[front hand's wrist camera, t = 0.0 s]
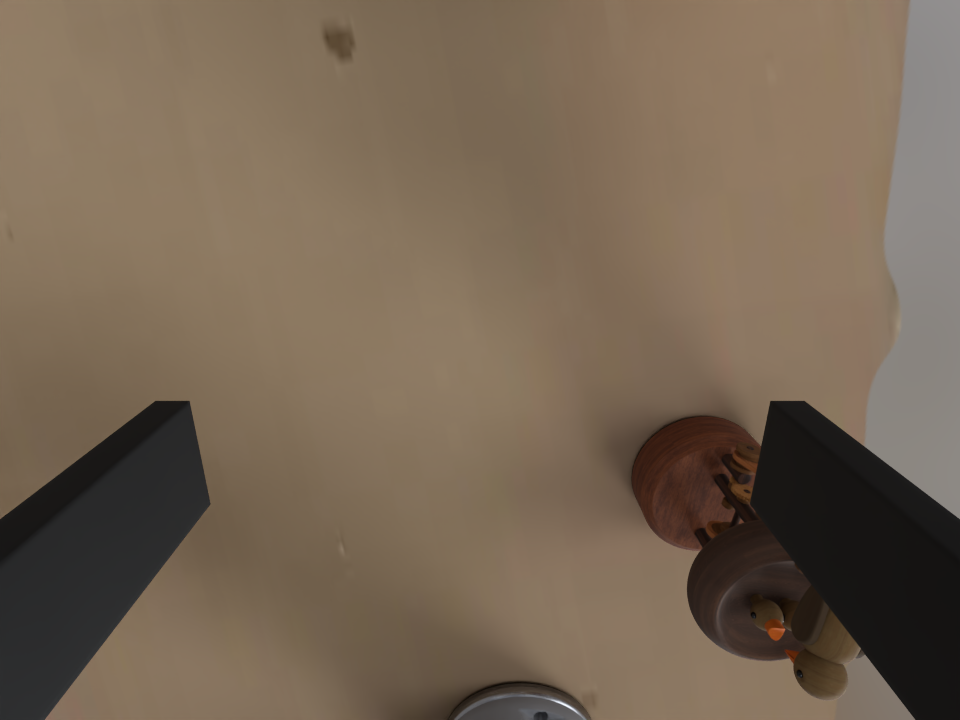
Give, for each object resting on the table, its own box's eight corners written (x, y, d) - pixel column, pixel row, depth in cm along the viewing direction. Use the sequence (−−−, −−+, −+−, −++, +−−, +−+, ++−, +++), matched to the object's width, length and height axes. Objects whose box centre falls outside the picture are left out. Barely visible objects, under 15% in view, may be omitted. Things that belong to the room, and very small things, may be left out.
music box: (634, 397, 43) (793, 585, 24) (769, 393, 44) (1024, 572, 25) (615, 557, 48) (734, 813, 29) (736, 550, 49) (925, 795, 30)
